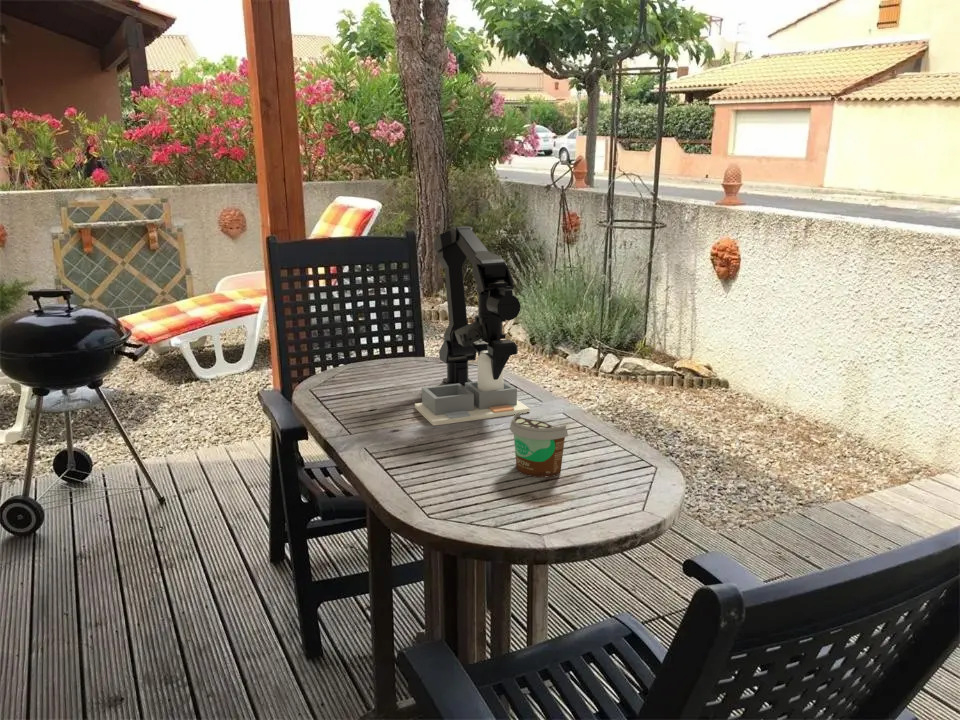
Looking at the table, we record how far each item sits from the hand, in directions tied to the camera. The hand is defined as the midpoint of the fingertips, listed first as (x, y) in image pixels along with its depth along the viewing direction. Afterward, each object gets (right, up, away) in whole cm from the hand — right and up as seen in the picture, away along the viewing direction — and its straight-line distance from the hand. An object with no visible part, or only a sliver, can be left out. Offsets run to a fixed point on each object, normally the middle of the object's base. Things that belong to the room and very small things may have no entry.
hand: (490, 375), depth 185 cm
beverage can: (0, -6, +1) cm, 6 cm away
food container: (+7, -18, -38) cm, 42 cm away
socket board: (-5, -8, -2) cm, 9 cm away
